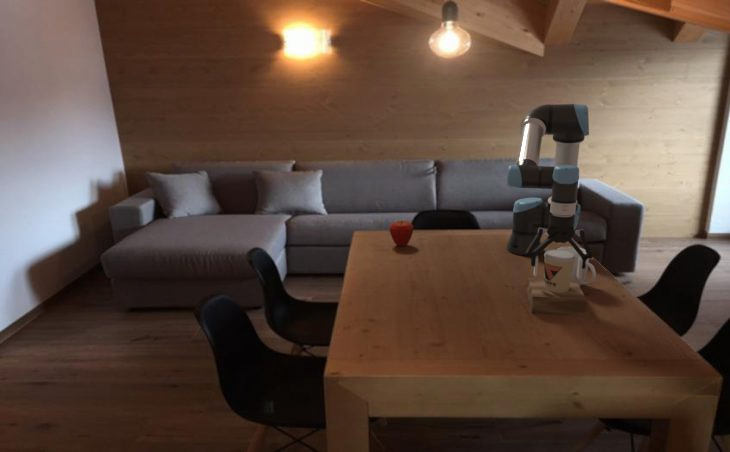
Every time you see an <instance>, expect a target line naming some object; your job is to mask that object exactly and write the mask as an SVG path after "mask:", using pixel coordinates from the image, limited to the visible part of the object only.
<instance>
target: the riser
mask: <svg viewBox="0 0 730 452" xmlns="http://www.w3.org/2000/svg"><path fill="white" fill-rule="evenodd" d="M526 287H527V288H526V295H527V296H526V297H527V300H528V303H529V307H530V312H531V314H534V315H535V314H536V315H548V316H549V315H550V316H562V317H565V316H567V317H576V318H577V317H579V318H580V317H581V318H585V316H586V308H587V298H586V295H585V294H584V292H583V290H582V289H581V285H580V286H579V284H578V283H577V281H575V280H571V281H570V286H569V290H568V291H567V292H562V293H558V292H552V291H549V290H547V289H545V287H544V278H539V277H538V278H536V277H535V278H533V277H528V278H527V285H526Z"/></svg>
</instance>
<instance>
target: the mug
mask: <svg viewBox="0 0 730 452" xmlns="http://www.w3.org/2000/svg"><path fill="white" fill-rule="evenodd" d="M579 248H580V250H581V251H582V252H583V253H584V254H587V253H586V251H585V249H584V248H581V247H579ZM556 250H565V251H568V252H571V253H573V254H574V256H575V260H574V264H573V270H572V276H571V280H575V281H577V283H578V284H579V286H580V287H581V285H591V284H592V283H593V282H595V280H596V276H597V273H596V267H595V266H594V265H593V264H592V262H591V263H590V258H588V259H587V260H586V264H585V269H582V271H581V279H578V278H577V267H578V257H581V256H580V255H579V254H578V253H577V251H576V250H575V249H574V248H573V246H561V247H558V248H557V249H556ZM589 269H590V271H591V279H590V280H589V281H585V279H586V276H587V275H588V270H589Z"/></svg>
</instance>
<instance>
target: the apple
mask: <svg viewBox="0 0 730 452" xmlns="http://www.w3.org/2000/svg"><path fill="white" fill-rule="evenodd" d="M389 233H390V236H391V239H392V240H393V242H394V244H395V245H396V246H398V247H406V246H407V245H408V244H409V242H410V241H411V239H412V236H413V233H414V225H413V224H412V223H411V222H409V221H406V220H398V221H397V220H396V221H394V222H392V223H391V224H390V225H389Z"/></svg>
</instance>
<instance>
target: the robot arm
mask: <svg viewBox="0 0 730 452" xmlns="http://www.w3.org/2000/svg"><path fill="white" fill-rule="evenodd" d="M589 121H590V120H589V107H588V106H587V105H586V104H577V103H569V104H567V103H565V104H564V103H563V104H560V103H559V104H557V103H556V104H542V105H539V106H537V107H535V108H533V109H532V110H529V112H528V113H527V114H526V115H525V116H524V117H523V119H522V120H521V122H520V125H519V133H520V140H519V146H518V150H517V151H518V152H517V155H516V161H515V164H512V165H509V166H508V169H507V179H506V180H507V181H506V182H507V183H506V184H507V186H508V187H511V188H518V189H543V190H551V196H549V197H548V199H547V202H545V201H543V198H540V197H525V198H519V199H518V200H516V201H515V202H514V204H513V210H512V212H513V214H512V215H513V216H512V225H511V226H512V229H511V235H510V237H509V239H508V242H507V245H506V250H507V251H508V252H509V253H512V254H515V255H519V256H520V255H521V256H528V257H529V256H530V257H531V258H530V264H531V267H533V276H534V277H535V278H536V277H537V276H538V267H539V265H538V264H539V257H538V255H541V254H543V251H544V250H545V249H546V248H547V247H548V246H549V245H551V244H552V243H553V242H554V243H556V244H557V243H562V244H566V243H569V244H570V245H571V247H573V248H574V249H575V250H576V251H577V253H578V254H579V255H580V256H581V257H578V267H577V278H578V279H581V271H582V269H585V264H586V260H587V259H588V258H589V259H593V253H592V251H591V249H590V247H589V245H588V242H587V240H586V238H585V237H586V236H585V230H584V229H583V228H579V229H576V227H577V225H578V223H579V219H580V213H581V205H580V204H579V203H578V200H577V197H578V188H579V181H580V168H579V167H578V162H579V154H580V153H579V152H580V151H579V150H580V144H581V143H583V142H584V141H585V137H587V136H589V135H590V122H589ZM545 135H547V136H552V141H554V142H555V153H554V154H555V156H554V166H546V165H545V166H543V165H539V164H540V155H541V148H542V141H543V137H544V136H545ZM546 234H547V235H548V236H547V237H546V238H545V240H544V241H542V236H545V235H546ZM575 235H576V236H577V237H578V238H579V239H580V241H581V243H582V246H583V249H585V251H586V253H587V254H584V253H583V252H582V251H581V250H580V248H581V247H579V245H577V243H576V242H575V241H574V240H573V239H572V238H573V236H575Z"/></svg>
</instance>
